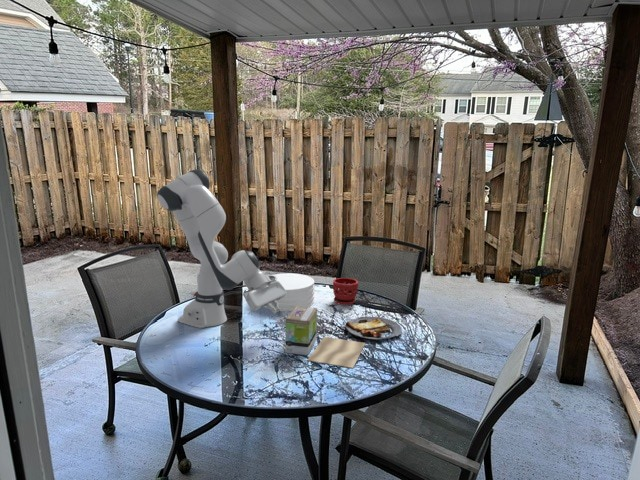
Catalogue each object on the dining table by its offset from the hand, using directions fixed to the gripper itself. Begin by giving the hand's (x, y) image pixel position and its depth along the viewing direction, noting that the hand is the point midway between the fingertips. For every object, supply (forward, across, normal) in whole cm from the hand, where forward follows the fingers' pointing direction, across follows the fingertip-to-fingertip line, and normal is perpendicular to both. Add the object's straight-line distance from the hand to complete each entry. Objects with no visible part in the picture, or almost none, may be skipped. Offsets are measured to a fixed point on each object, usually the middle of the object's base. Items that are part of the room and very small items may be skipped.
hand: (277, 311), depth 181 cm
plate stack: (-9, +42, +29) cm, 52 cm away
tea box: (+17, +3, +3) cm, 18 cm away
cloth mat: (+28, +7, -8) cm, 29 cm away
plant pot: (+9, +58, +12) cm, 60 cm away
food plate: (+30, +34, -9) cm, 46 cm away
